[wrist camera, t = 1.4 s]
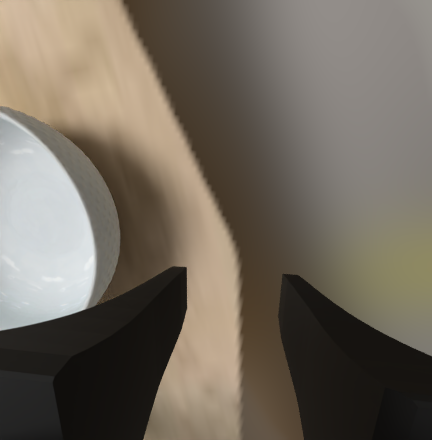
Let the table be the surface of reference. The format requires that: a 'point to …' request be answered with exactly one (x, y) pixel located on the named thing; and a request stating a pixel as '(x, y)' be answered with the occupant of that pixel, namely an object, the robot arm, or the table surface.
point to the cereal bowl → (51, 225)
